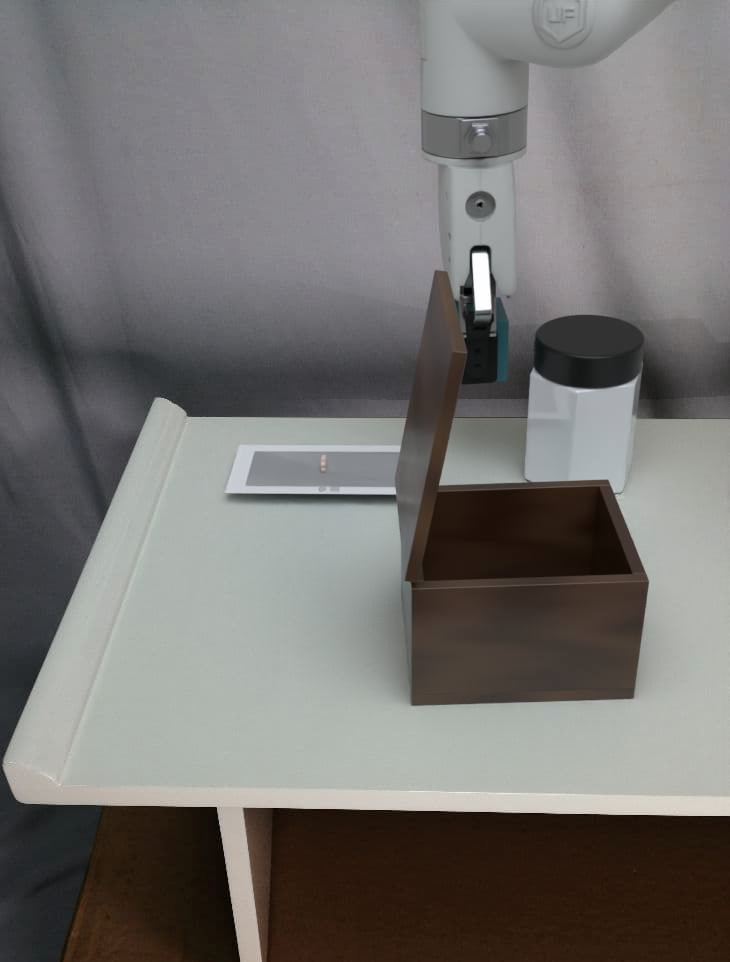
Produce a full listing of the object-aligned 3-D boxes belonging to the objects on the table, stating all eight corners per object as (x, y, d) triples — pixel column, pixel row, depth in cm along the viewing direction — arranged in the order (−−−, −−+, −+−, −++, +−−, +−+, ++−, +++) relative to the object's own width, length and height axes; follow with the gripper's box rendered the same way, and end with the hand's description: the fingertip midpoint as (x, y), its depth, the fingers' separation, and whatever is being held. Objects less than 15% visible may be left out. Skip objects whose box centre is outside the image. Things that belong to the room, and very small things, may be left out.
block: (499, 355, 96) (500, 296, 93) (507, 381, 92) (508, 320, 89) (438, 358, 96) (437, 300, 93) (443, 384, 92) (442, 324, 89)
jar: (611, 442, 99) (625, 308, 92) (650, 491, 92) (668, 349, 85) (508, 455, 98) (515, 320, 91) (540, 505, 91) (549, 362, 84)
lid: (448, 271, 69) (434, 269, 69) (468, 352, 59) (452, 350, 59) (406, 481, 77) (394, 479, 77) (418, 583, 67) (404, 581, 67)
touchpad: (240, 456, 100) (238, 433, 98) (417, 457, 98) (417, 434, 97) (226, 504, 93) (223, 481, 92) (415, 506, 92) (415, 482, 90)
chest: (597, 588, 82) (608, 478, 77) (633, 698, 72) (649, 580, 67) (401, 594, 82) (400, 486, 77) (411, 705, 72) (411, 589, 67)
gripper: (545, 161, 76) (535, 412, 86) (510, 102, 91) (505, 323, 101) (430, 168, 77) (433, 417, 87) (413, 108, 91) (417, 328, 101)
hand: (472, 364), depth 93 cm, fingers closed on block, 5 cm apart
